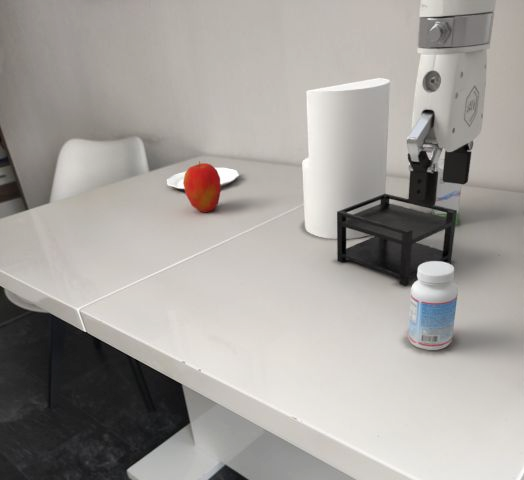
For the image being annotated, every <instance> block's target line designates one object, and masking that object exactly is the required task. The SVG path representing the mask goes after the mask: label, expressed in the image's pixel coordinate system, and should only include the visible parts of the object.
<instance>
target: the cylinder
mask: <svg viewBox="0 0 524 480" xmlns="http://www.w3.org/2000/svg"><path fill="white" fill-rule="evenodd" d="M390 88H391V80H390V79H387V78H383V77H375V78H371V79H365V80H359V81H354V82H347V83H343V84H337V85H330V86H324V87H319V88H314V89H309V90H305V92H306V93H305V95H306V96H305V97H306V119H307V120H306V121H307V122H306V123H307V146H308V149H307V151H308V156H307V157H305V158H304V159H303V160H302V162H301V168H302V189H303V190H302V191H303V192H302V193H303V194H302V195H303V211H304V212H303V214H304V217H303V218H304V229H305V230H306V232H308V233H309V234H310V235H312V236H316V237H318V238H324V239H329V240H330V239H331V240H332V239H333V240H337V211H340V210H343V209H345V208H348V207H351V206H353V205H356V204H359V203H361V202H364V201H367V200H369V199H372V198H375V197H377V196H380V195H383V194H387V193H386V192H387V191H386V190H387V189H386V188H387V165H388V164H387V163H388V144H389V143H388V140H389V118H390V117H389V115H390V114H389V113H390V91H391V90H390ZM379 204H381V200H378V201H375V202H373V203H370V204H367V205H365V206H362V207H360V208H357V209H354V210H352V211H349V212H346V213H349V214H352V215H353V214H356V213H358V212H361V211H363V210H366V209H369V208H371V207H374V206H376V205H379ZM368 236H370V235H369V234H366V233H362V232H359V231H356V230H353V229H349V228H346V240H350V239H351V240H353V239H358V238H363V237H368Z"/></svg>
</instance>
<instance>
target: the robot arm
mask: <svg viewBox="0 0 524 480" xmlns="http://www.w3.org/2000/svg"><path fill="white" fill-rule="evenodd" d="M496 1H497V0H420V1H419V2H420V3H419V16H418V17H419V18H418V31H417V46H416V47H417V49H416V53H417V54H420V56H419V62H418V70H417V74H416V80H415V88H414V95H413V96H414V97H413V105H412V106H413V107H412V117H411V131H410V132H409V134H408V135H407V137H406V147H407V152H408V153H407V161H408V171H409V183H408V197H407V199H408V202H409V203H410V204H409V203H408V204H409V205H413V204H414V205H413V206H417V205H421V206H428V207H432V206H434V205H435V202H436V192H437V181H438V171H436V166H437V163H438V160H439V159H441V155H442V152H443V150H444V158H443V159H444V168H443V178H442V180H443V182H447V183H456V184H462V185H466V184H467V183H468V182H469V176H470V168H471V159H472V151H473V147H474V140H475V139H477V138H478V137H479V136H480V134H481V132H482V129H483V120H484V110H485V109H484V108H485V98H486V97H485V96H486V86H487V85H486V84H487V69H488V68H487V64H488V63H487V62H488V60H487V59H488V58H487V57H488V55H487V50H488V49H490V47H491V40H492V32H493V26H494V19H495V11H496V10H495V9H496V4H497V3H496ZM428 153H431V154H430V158H429V155H428ZM421 206H420V207H421Z"/></svg>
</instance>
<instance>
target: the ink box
mask: <svg viewBox="0 0 524 480" xmlns="http://www.w3.org/2000/svg"><path fill="white" fill-rule="evenodd" d="M443 168H444V158H439V160H438V163H437V166H436V169H435V171H438V181H437V192H436V202H435V205H436V206H440V207H445V208H449V209H453V210H457V214H456V223H455V226H457V225H458V221H459V214H460V213H459V211H460V202H461V196H462V195H461V194H462V185H463V184H456V183H447V182H443V180H442V178H443ZM431 214H434V215H438V216H442V217H446V216H447V213H446V212H442V211H438V210H434V209H431Z"/></svg>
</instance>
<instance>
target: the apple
mask: <svg viewBox="0 0 524 480" xmlns="http://www.w3.org/2000/svg"><path fill="white" fill-rule="evenodd" d="M215 168H216V167H214V166H213V165H212V164H210V163H205V162H203V163H201V161H199V163H198V164H195V165H192V166H190V167H189V168H187V170H186V173H185V176H184V182H183V184H184V188H185V190H184V192H185V195H186V197H187V200H188V202H189V203H190V205H191V207H193V208H194V209H195V210H198V211H199V212H201V213H208V212H212V211H214V209H215V208H216V206H217V205H218V204H219V201H220V197H221V193H222V192H221V191H222V189H221V188H222V186H220V176H219V174H218V172H217V170H216V169H215Z"/></svg>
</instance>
